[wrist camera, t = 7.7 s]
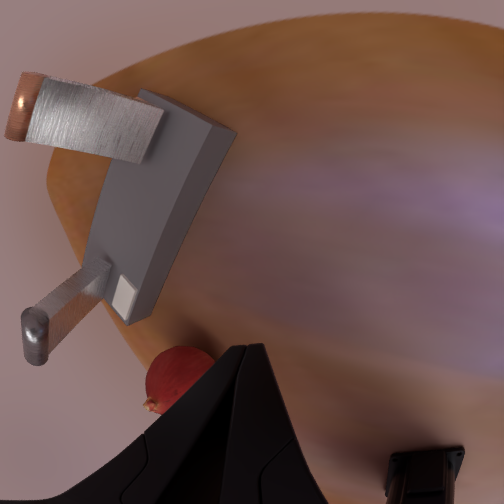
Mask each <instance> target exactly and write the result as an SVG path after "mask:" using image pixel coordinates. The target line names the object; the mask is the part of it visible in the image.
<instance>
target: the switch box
mask: <svg viewBox="0 0 504 504" xmlns="http://www.w3.org/2000/svg"><path fill="white" fill-rule="evenodd" d="M135 98H136V99H140V100H143V101H146V102H149V103H152V104H155V105H158V106H159V107H161V108H162V109H163V110H164V112H163V114H162V116H161V118H160V121H159V123H158V125H157V127H156V129H155V132H154V134H153V136H152V138H151V141H150V143H149V145H148V148H147V150H146V152H145V155H144V157H143V160H142V162H141V164H137V163H133V162H129V161H124V160H120V159H115V158H112V160H111V163H110V166H109V169H108V172H107V175H106V178H105V181H104V184H103V187H102V190H101V194H100V197H99V200H98V204H97V207H96V211H95V214H94V218H93V222H92V225H91V229H90V233H89V237H88V241H87V246H86V250H85V254H84V259H83V264H82V268H83V267H84V266H85V265H87V264H88V263H89V262H91V261H92V260H93V259H95V258H96V257H97V256H99V257H100V258H102V259H103V260H105V261H106V262H108V263H110V264H111V265H112V266H111V270H110V273H109V277H108V280H107V284H106V288H105V292H104V296H103V298H104V299H105V300H106V302H107V303H108V304H109V305H110V306H111V308H112V309H113V310H114V311H115V312H116V314H117V315H118V316H119V317H120V318H121V320H122V321H123V322H124V323H125V324H126V325H127V326H128V325H131V324H133V323H135V322H137V321H139V320H142V319H144V318H146V317H148V316H150V315H151V313H152V310H153V308H154V306H155V303H156V301H157V298H158V296H159V294H160V291H161V289H162V287H163V284H164V282H165V280H166V277H167V275H168V273H169V271H170V268H171V266H172V264H173V262H174V259H175V257H176V255H177V253H178V251H179V248H180V246H181V244H182V242H183V240H184V238H185V235H186V233H187V231H188V229H189V227H190V225H191V223H192V221H193V219H194V216H195V214H196V212H197V210H198V208H199V206H200V204H201V202H202V200H203V198H204V196H205V194H206V192H207V190H208V188H209V186H210V184H211V182H212V180H213V178H214V176H215V174H216V172H217V170H218V168H219V166H220V165H221V163H222V161H223V159H224V157H225V155H226V153H227V151H228V149H229V147H230V146H231V144H232V142H233V140H234V138H235V136H236V135H237V133H236V132H234V131H233V130H231V129H229V128H227V127H225V126H224V125H222V124H220V123H218V122H216V121H214V120H213V119H211V118H209V117H207V116H205V115H203V114H201V113H199V112H198V111H196V110H194V109H192V108H190V107H188V106H186V105H184V104H182V103H180V102H178V101H176V100H174V99H172V98H170V97H168V96H165V95H162V94H159V93H155V92H152V91H149V90H145V89H142V88H141V90H140V92H139V94H138V96H137V97H135Z"/></svg>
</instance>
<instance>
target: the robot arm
mask: <svg viewBox="0 0 504 504" xmlns="http://www.w3.org/2000/svg"><path fill="white" fill-rule="evenodd" d="M459 452H460V453H459ZM464 455H465V449H464V448H463V447H458V448H450V449H442V450H433V451H422V452H407V453H394V454H392V455H391V456H390V460H389V469H388V477H387V485H386V492H385V496H386V497H388V498H387V502H386V504H454V489H455V481H456V478H457V475H458V472H459V470H460V467H461V464H462V461H463V458H464ZM394 458H397V459H394ZM0 504H329V503H328V502H327V500H326V499H325V497H324V495H323V494H322V492H321V490H320V488H319V487H318V485H317V483H316V481H315V479H314V477H313V476H312V474H311V472H310V470H309V467H308V465H307V462H306V460H305V458H304V455H303V453H302V450H301V447H300V445H299V442H298V440H297V437H296V434H295V431H294V429H293V426H292V423H291V420H290V417H289V415H288V412H287V409H286V406H285V403H284V400H283V398H282V395H281V392H280V389H279V386H278V383H277V381H276V378H275V375H274V372H273V369H272V366H271V363H270V360H269V357H268V355H267V352H266V349H265V346H264V344H263V343H256V344H249V345H248V346H247V345H235V346H231V347H230V348H229V349H228V350H227V351H226V352H225V353H224V354H223V355H222V356H221V357H220V358H219V359H218V360H217V361H216V362H215V363H214V364H213V365H212V366H211V367H210V368H209V369H208V370H207V371H206V372H205V373H204V374H203V375H202V376H201V377H200V378H199V379H198V380H197V381H196V382H195V383H194V384H193V385H192V386H191V387H190V388H189V389H188V390H187V391H186V392H185V393H184V394H183V395H182V396H181V397H180V398H179V399H178V400H177V401H176V402H175V403H174V404H173V405H172V406H171V407H170V408H169V409H168V410H167V411H166V412H164V413H163V414H162V415H161V416H160V417H159V418H158V419H157V420H156V421H155V422H154V423H153V424H152V425H151V426H150V427H149V428H148V429H147V430H146V431H144V434H141V435H140V436H139V437H138V438H137V439H136V440H134V441H133V442H132V443H131V444H130V445H129V446H128V447H126V448H125V449H124V450H123V451H122V452H121V453H120V454H118V455H117V456H116V457H115V458H113V459H112V460H111V461H109V462H108V463H107V464H105V465H104V466H103V467H101V468H100V469H99V470H97V471H96V472H94V473H93V474H91V475H90V476H88V477H87V478H85V479H84V480H82V481H81V482H79V483H78V484H76V485H75V486H73V487H72V488H70V489H69V490H67V491H66V492H64V493H62V494H60V495H58V496H55V497H52V498H49V499H43V500H0Z"/></svg>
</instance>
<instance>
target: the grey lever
mask: <svg viewBox="0 0 504 504" xmlns="http://www.w3.org/2000/svg"><path fill="white" fill-rule="evenodd" d="M111 266H112V265H111V264H110V263H108V262H106V261H105V260H103V259H102V258H100V257H99V256H97V257H96V258H95V259H93V260H92V261H91V262H89V263H88V264H87V265H85V266H84V267H83V268H81V269H80V270H79V271H78V272H76V273H75V274H73V275H72V276H71V277H70V278H68V279H67V280H66V281H64V282H63V283H62V284H61V285H59V286H58V287H57V288H56V289H54V290H53V291H52V292H51V293H49V294H48V295H47V296H46V297H44V298H43V299H42V300H41V301H40V302H38V303H37V304H36V305H35V306H34V307H29V308H27V309H25V310H24V311H23V313H22V315H21V326H22V340H23V349H24V357H25V359H26V360H27V362H29V363H30V364H32V365H35V366H41V365H44V364H45V363H46V362H47V360H48V357H49V354H50V353H51V352H52V351H53V350H54V348H55V347H56V346H57V345H58V344H59V343H60V342H61V341H62V340H63V339H64V338H65V337H66V336H67V334H68V333H69V332H70V331H71V330H72V329H73V328H74V327H75V326H76V325H77V324H78V323H79V322H80V321H81V320H82V319H83V318H84V317H85V316H86V315H87V314H88V313H89V312H90V311H91V310H92V309H93V308H94V307H95V306H96V305H97V304H98V303H99V302H100V301H101V300H102V299H103V296H104V292H105V288H106V284H107V280H108V277H109V273H110V270H111Z"/></svg>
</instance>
